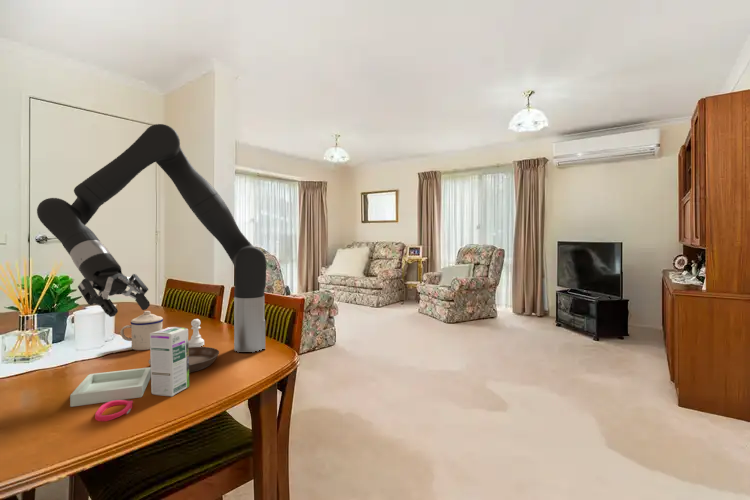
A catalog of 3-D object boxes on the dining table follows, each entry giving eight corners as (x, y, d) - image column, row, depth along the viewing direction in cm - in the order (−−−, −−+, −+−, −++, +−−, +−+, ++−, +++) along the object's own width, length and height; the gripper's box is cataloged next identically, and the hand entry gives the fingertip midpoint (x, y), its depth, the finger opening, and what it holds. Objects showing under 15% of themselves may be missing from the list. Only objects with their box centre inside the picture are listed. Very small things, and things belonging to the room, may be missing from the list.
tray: (150, 376, 96) (150, 367, 96) (142, 396, 84) (141, 386, 84) (89, 384, 90) (89, 374, 90) (70, 406, 79) (70, 395, 78)
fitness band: (125, 420, 74) (125, 412, 74) (90, 424, 72) (90, 417, 72) (135, 403, 82) (135, 396, 82) (104, 406, 80) (104, 400, 79)
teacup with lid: (166, 341, 127) (165, 308, 127) (159, 349, 119) (159, 313, 118) (125, 344, 123) (125, 309, 123) (116, 352, 115) (115, 315, 114)
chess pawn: (184, 346, 123) (184, 319, 122) (200, 342, 126) (200, 316, 126) (191, 349, 119) (191, 321, 119) (207, 345, 123) (206, 319, 123)
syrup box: (172, 397, 84) (171, 333, 83) (150, 394, 85) (149, 331, 85) (189, 387, 90) (189, 327, 89) (168, 384, 91) (168, 326, 90)
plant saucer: (132, 372, 99) (132, 361, 99) (187, 353, 116) (186, 343, 116) (183, 382, 93) (183, 370, 93) (232, 360, 110) (232, 350, 110)
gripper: (72, 253, 85) (111, 305, 82) (129, 251, 99) (164, 296, 96) (56, 275, 87) (93, 327, 84) (114, 270, 100) (148, 315, 98)
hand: (131, 310), depth 90 cm, fingers open, 8 cm apart
